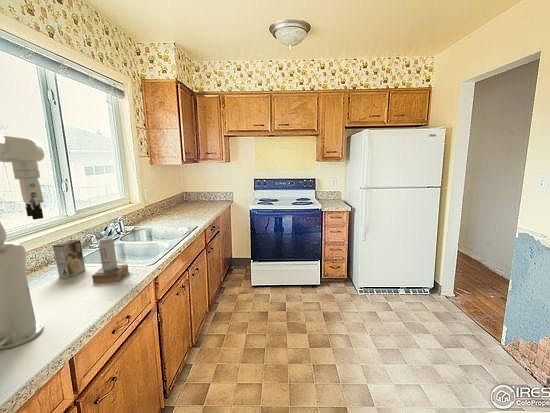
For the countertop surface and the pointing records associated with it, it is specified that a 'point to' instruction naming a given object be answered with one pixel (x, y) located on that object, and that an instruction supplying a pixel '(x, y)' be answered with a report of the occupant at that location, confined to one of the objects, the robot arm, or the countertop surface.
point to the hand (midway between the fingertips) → (35, 217)
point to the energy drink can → (107, 254)
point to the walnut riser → (110, 275)
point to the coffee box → (69, 258)
